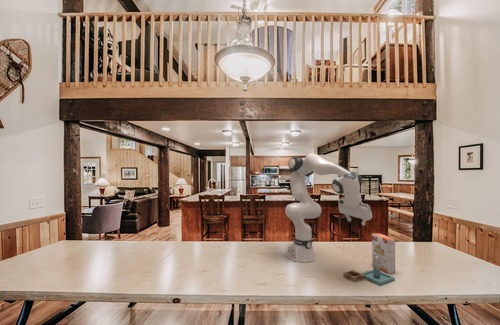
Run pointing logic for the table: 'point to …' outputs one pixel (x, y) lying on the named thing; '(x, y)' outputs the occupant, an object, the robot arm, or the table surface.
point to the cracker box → (384, 252)
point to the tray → (383, 279)
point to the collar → (351, 275)
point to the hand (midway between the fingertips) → (356, 222)
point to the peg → (376, 267)
